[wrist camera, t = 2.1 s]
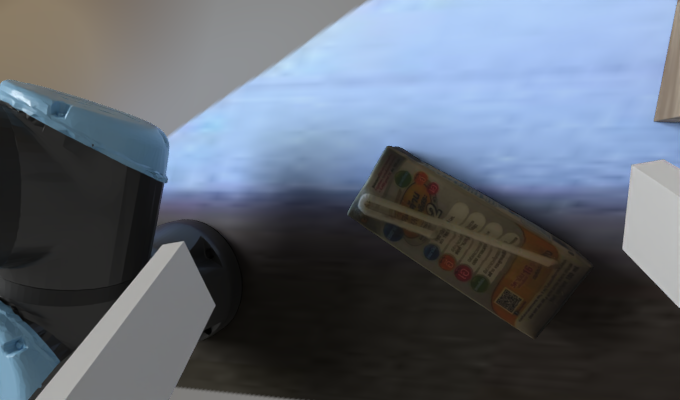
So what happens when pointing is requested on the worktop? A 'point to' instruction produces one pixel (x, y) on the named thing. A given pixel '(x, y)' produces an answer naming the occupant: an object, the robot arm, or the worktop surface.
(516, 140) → the worktop surface
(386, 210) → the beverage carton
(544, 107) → the worktop surface
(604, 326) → the worktop surface
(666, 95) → the tan tall piece
